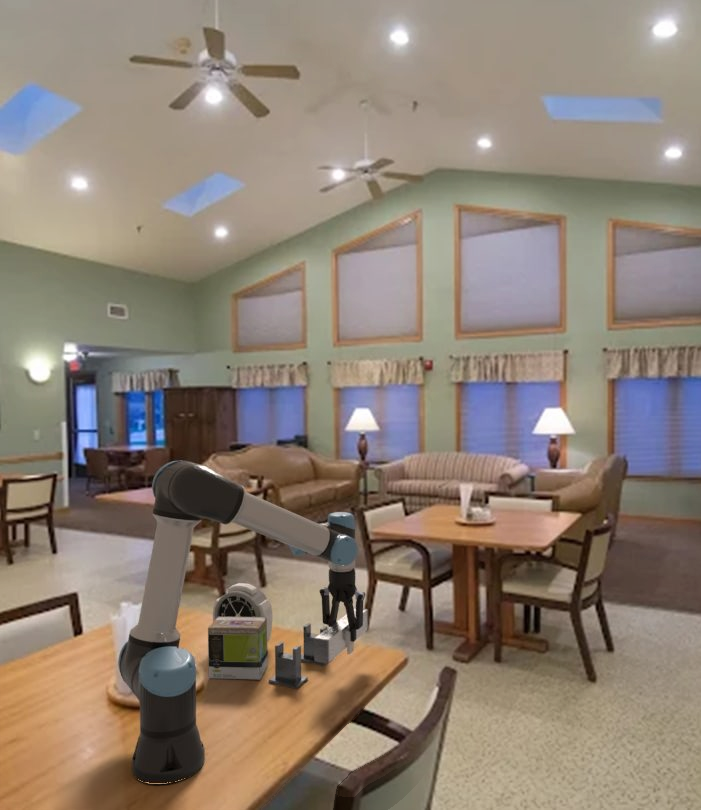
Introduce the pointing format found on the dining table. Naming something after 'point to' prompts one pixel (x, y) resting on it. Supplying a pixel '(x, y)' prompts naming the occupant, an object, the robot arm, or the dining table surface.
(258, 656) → the tea box
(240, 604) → the alarm clock
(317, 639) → the rail
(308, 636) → the post
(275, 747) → the dining table surface
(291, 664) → the post
